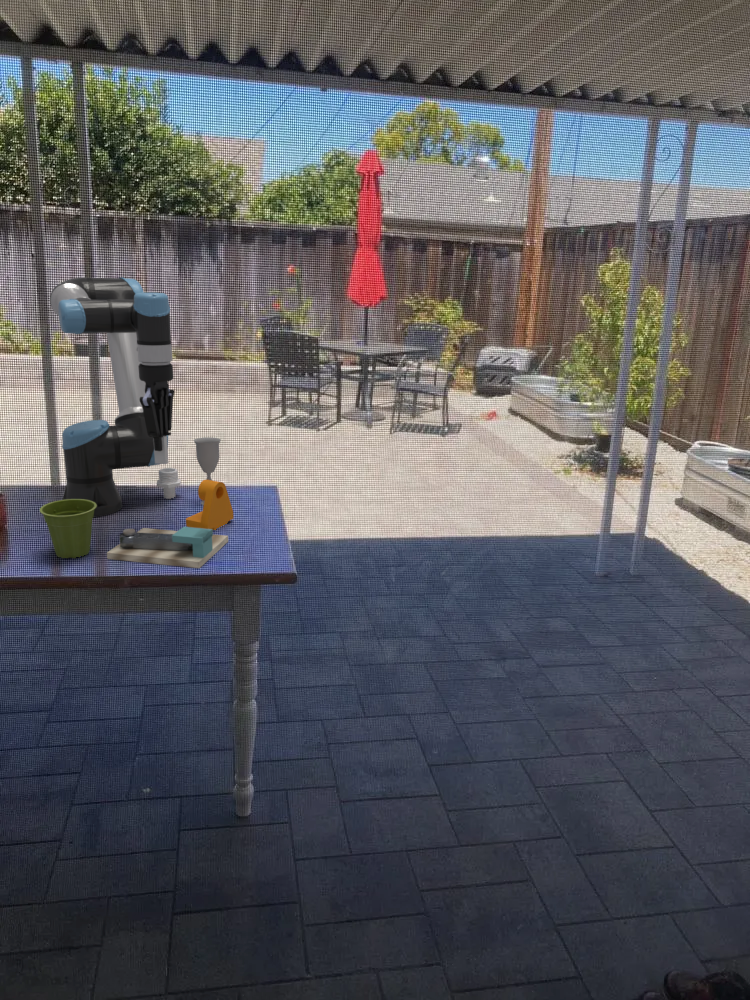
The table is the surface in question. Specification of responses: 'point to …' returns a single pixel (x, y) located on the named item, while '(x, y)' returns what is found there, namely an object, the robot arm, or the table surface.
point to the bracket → (212, 506)
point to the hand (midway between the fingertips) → (161, 463)
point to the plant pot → (70, 526)
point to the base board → (164, 551)
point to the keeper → (195, 539)
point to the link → (152, 542)
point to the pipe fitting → (168, 481)
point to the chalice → (207, 454)
